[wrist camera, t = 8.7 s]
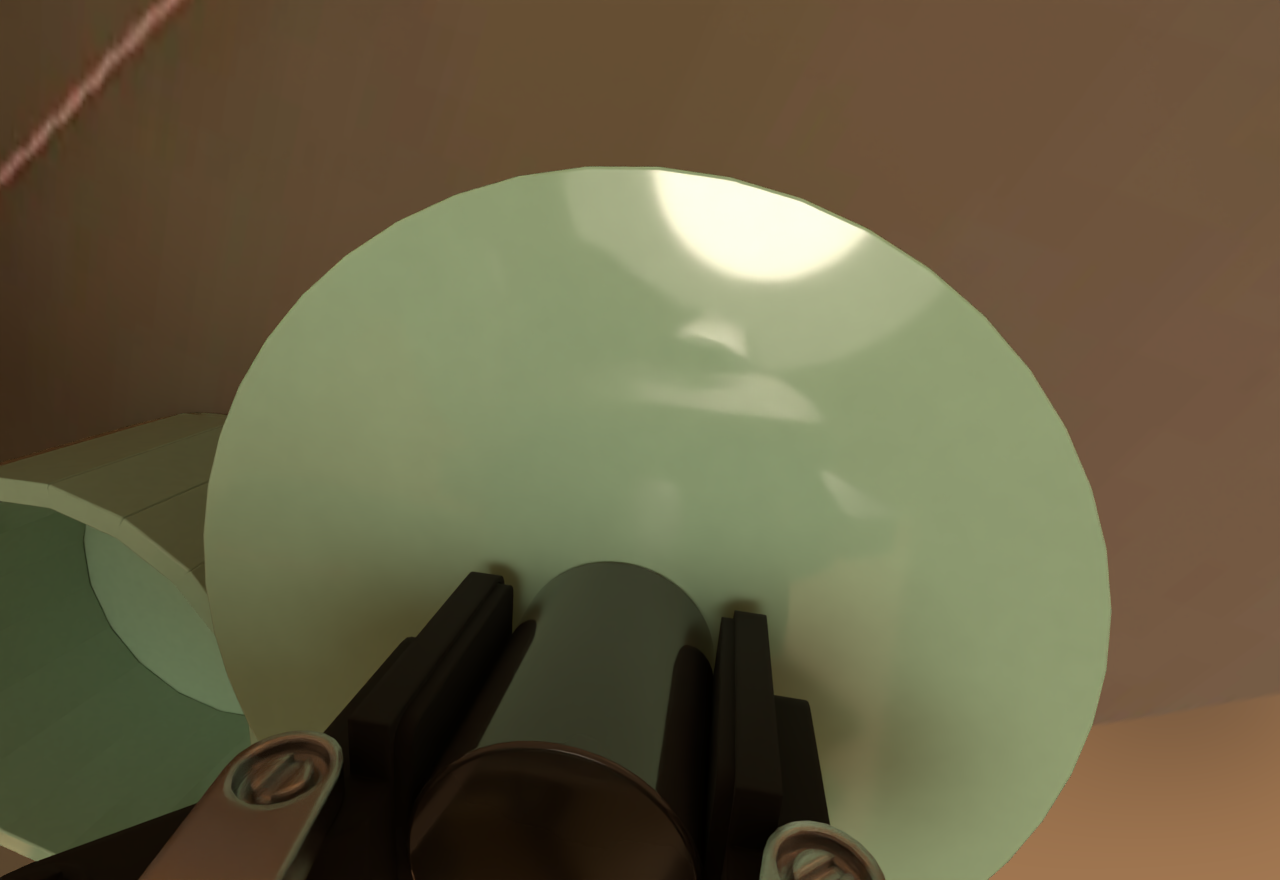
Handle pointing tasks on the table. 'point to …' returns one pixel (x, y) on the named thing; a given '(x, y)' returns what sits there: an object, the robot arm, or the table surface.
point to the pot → (109, 636)
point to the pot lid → (665, 522)
